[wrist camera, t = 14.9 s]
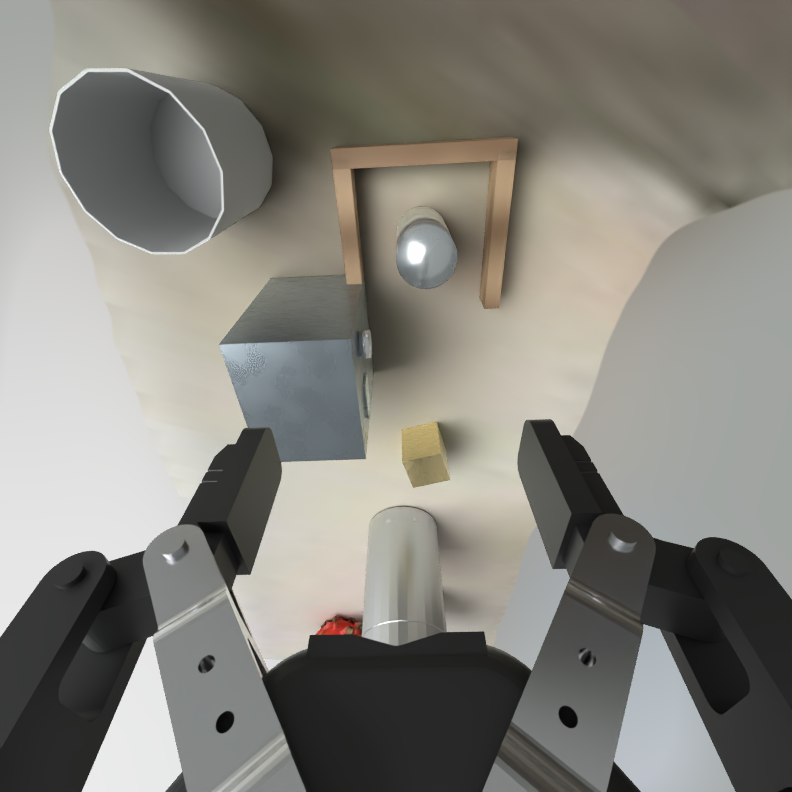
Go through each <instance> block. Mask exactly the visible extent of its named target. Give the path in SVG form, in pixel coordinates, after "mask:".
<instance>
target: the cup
mask: <svg viewBox="0 0 792 792" xmlns="http://www.w3.org/2000/svg"><path fill="white" fill-rule="evenodd" d="M49 131H50V135H51V139H52V144H53V148H54V152H55V156H56V160H57V164H58V168H59V173H60V174H61V176H62V177H63V179H64V180H65V182H66V184H67V185H68V187H69V188H70V190H71V191H72V193H73V195H74V196H75V198H76V199H77V201H78V202H79V204H80V206H81V207H82V209H83V210H84V212H86V213H87V214H88V215H89V216H90V217H91V218H93V219H94V220H95V221H96V222H97V223H98V224H100V225H101V226H102V227H103V228H104V229H105V230H107V231H108V232H109V233H110V234H111V235H112V236H114V237H115V238H116V239H117V240H119V241H122V242H124V243H127V244H129V245H131V246H134V247H136V248H139V249H141V250H143V251H146V252H148V253H150V254H186V253H187V252H189V251H191V250H193V249H194V248H196V247H198V246H199V245H201V244H203V243H204V242H206V241H208V240H210V239H211V238H213V237H214V236H216V235H217V234H219V233H220V232H222V231H224V230H225V229H227V228H228V227H230V226H231V225H233V224H234V223H236V222H237V221H239V220H240V219H242V218H244V217H245V216H247V215H248V214H250V213H251V212H253V211H254V210H256V209H257V208H259V207H260V206H261V204H262V203H263V201H264V199H265V197H266V195H267V193H268V191H269V190H270V188H271V186H272V167H273V156H272V153H271V150H270V147H269V144H268V142H267V139H266V136H265V133H264V130H263V127H262V125H261V124H260V123H259V122H258V121H257V119H256V118H255V117H254V116H253V114H252V113H251V112H250V111H249V110H248V108H247V107H246V106H245V105H244V104H243V102H242V101H241V100H240V99H238V98H236V97H235V96H233V95H231V94H229V93H227V92H225V91H223V90H222V89H220V88H218V87H216V86H214V85H212V84H208V83H203V82H197V81H192V80H187V79H181V78H176V77H170V76H165V75H160V74H154V73H149V72H144V71H138V70H133V69H128V68H109V69H85V70H84V71H82V72H81V73H80V74H79V75H77V76H76V77H75V78H74V79H73V80H71V81H70V82H69V83H68V84H66V85H65V86H64V87H63V88H61V89H60V90H59V91H58V93H57V97H56V102H55V106H54V111H53V115H52V119H51V124H50V128H49Z"/></svg>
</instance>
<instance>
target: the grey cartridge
mask: <svg viewBox="0 0 792 792" xmlns="http://www.w3.org/2000/svg"><path fill="white" fill-rule="evenodd" d="M456 264H457V249H456V246H455V243H454V241H453V239H452V237H451V235H450V233H449V230H448V228H447V226H446V224H445V222H444V220H443V218H442V216H441V215H440V214H439V213H438V212H437V211H435V210H434V209H432V208H429V207H422V206H421V207H416V208H413V209H411V210H409V211H408V212H406V213H405V214H404V215H403V216H402V218H401V219H400V221H399V223H398V226H397V267H398V270H399V273H400V274H401V276H402V277H403V279H404V280H405V281H406V282H407V283H409V284H410V285H412V286H414V287H416V288H420V289H431V288H435V287H438V286H440V285H442V284H443V283H445V282H446V281H447V280H448V279H449V278H450V277H451V275H452V274H453V272H454V270H455V268H456Z"/></svg>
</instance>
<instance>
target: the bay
mask: <svg viewBox="0 0 792 792" xmlns="http://www.w3.org/2000/svg"><path fill="white" fill-rule="evenodd" d="M517 144H518V138H513V137H499V138H482V139H464V140H446V141H429V142H411V143H393V144H376V145H358V146H340V147H333V148H331V149H330V151H331V159H332V168H333V176H334V184H335V192H336V200H337V208H338V216H339V224H340V233H341V241H342V249H343V257H344V265H345V273H346V281H347V284H362V280H363V276H364V270H363V260H362V250H361V239H360V229H359V218H358V208H357V197H356V187H355V177H354V169H355V168H373V167H391V166H410V165H428V164H446V163H464V162H482V161H491V162H490V174H489V186H488V199H487V211H486V224H485V236H484V249H483V261H482V274H481V286H480V300H481V302H482V304H483V307H484V309H492V308H499V304H500V295H501V287H502V278H503V269H504V260H505V251H506V242H507V233H508V224H509V215H510V206H511V198H512V189H513V180H514V171H515V162H516V153H517Z"/></svg>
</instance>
